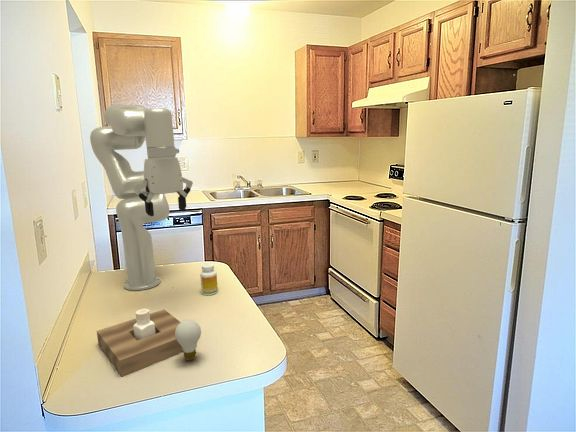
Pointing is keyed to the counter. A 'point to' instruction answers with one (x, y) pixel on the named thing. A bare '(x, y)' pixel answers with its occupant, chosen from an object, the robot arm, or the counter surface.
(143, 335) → the pepper shaker
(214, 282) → the supplement bottle
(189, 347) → the light bulb
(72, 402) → the counter surface
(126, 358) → the socket block
